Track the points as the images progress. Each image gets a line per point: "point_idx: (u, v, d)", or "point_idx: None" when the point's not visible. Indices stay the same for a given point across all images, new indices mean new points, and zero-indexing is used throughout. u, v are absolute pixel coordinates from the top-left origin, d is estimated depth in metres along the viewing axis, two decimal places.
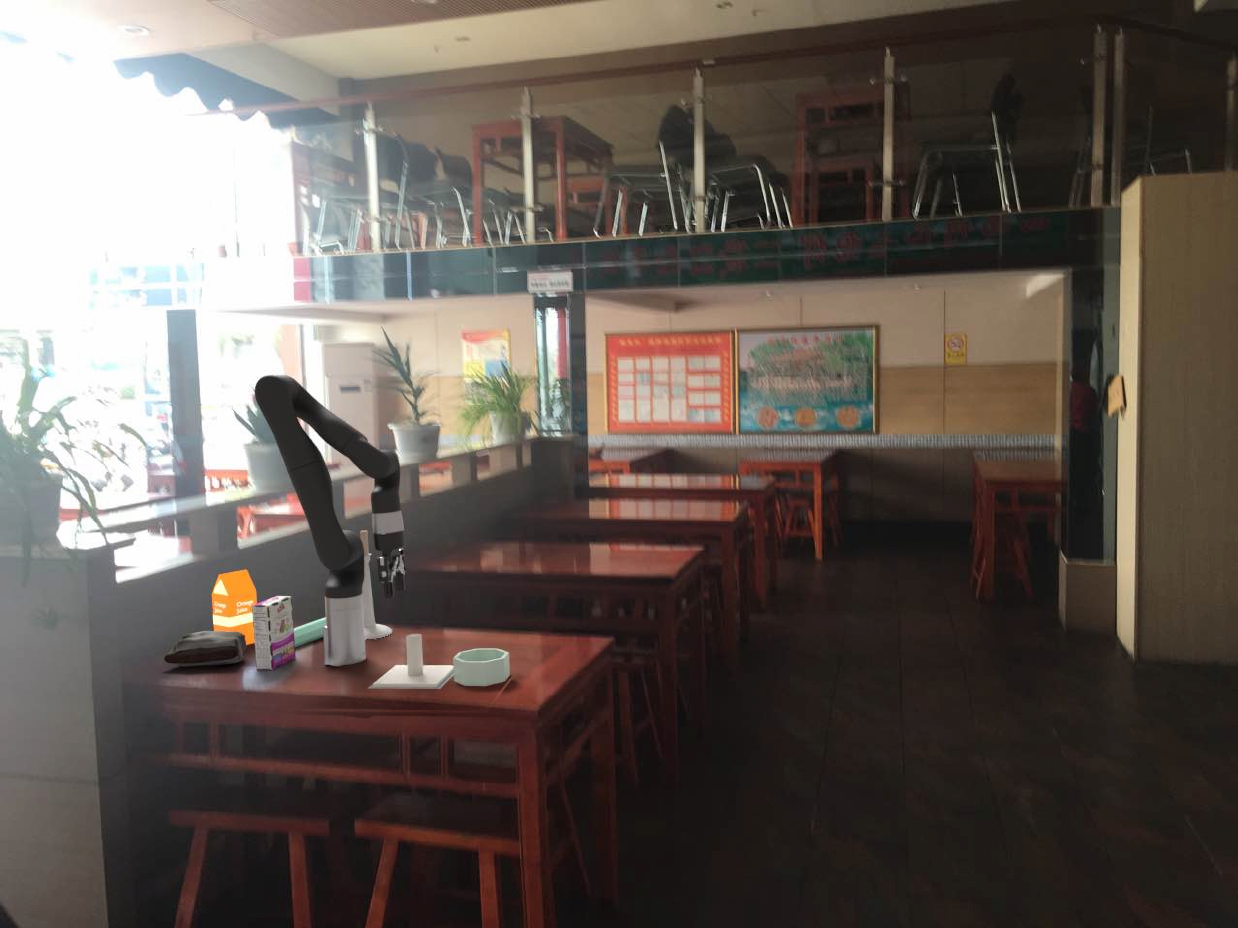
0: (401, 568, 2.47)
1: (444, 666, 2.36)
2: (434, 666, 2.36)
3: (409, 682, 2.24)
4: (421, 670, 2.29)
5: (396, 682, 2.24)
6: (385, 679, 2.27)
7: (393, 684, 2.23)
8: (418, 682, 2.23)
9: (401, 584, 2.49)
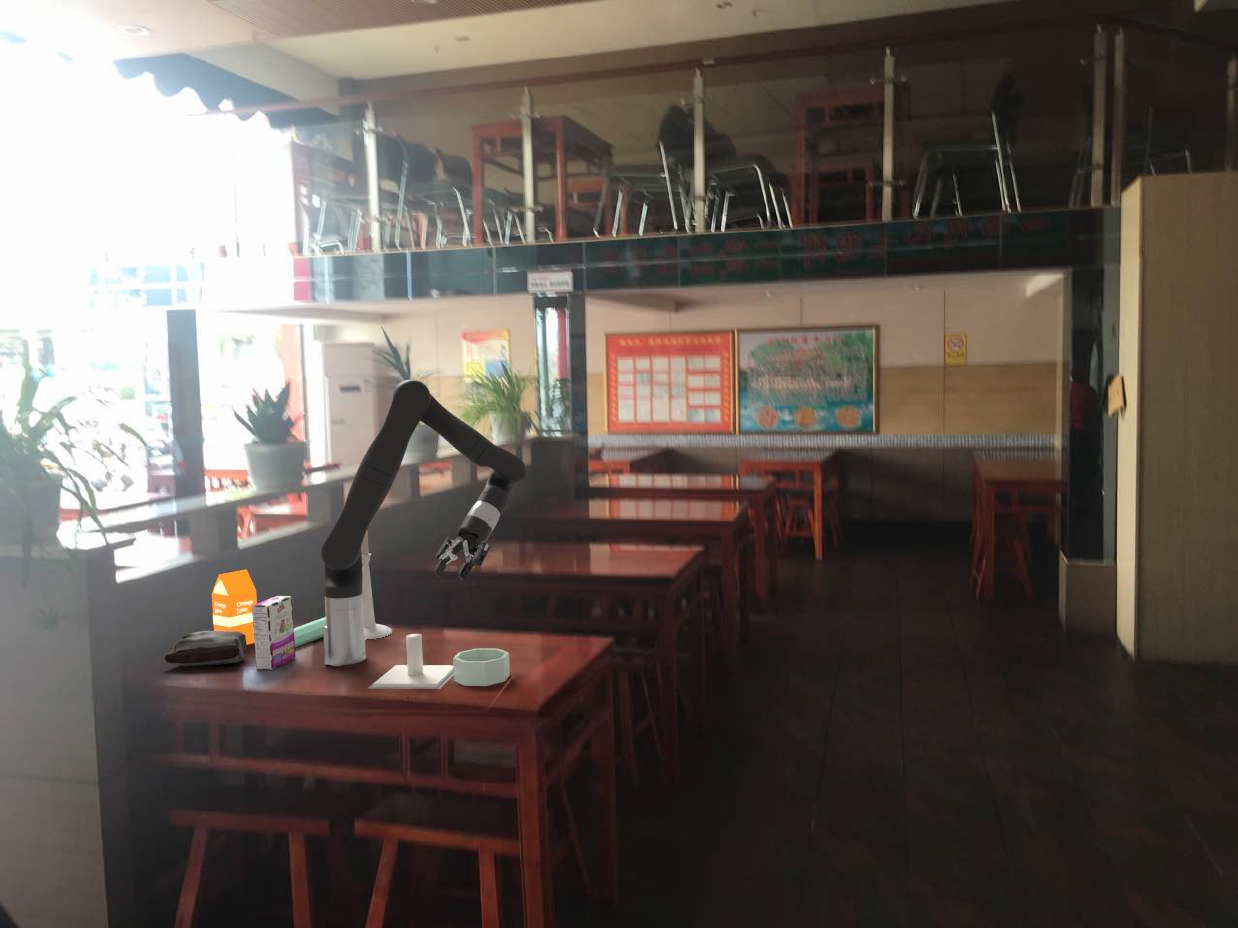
0: (454, 558, 2.43)
1: (444, 666, 2.36)
2: (434, 666, 2.36)
3: (409, 682, 2.24)
4: (421, 670, 2.29)
5: (396, 682, 2.24)
6: (385, 679, 2.27)
7: (393, 684, 2.23)
8: (418, 682, 2.23)
9: (441, 570, 2.41)
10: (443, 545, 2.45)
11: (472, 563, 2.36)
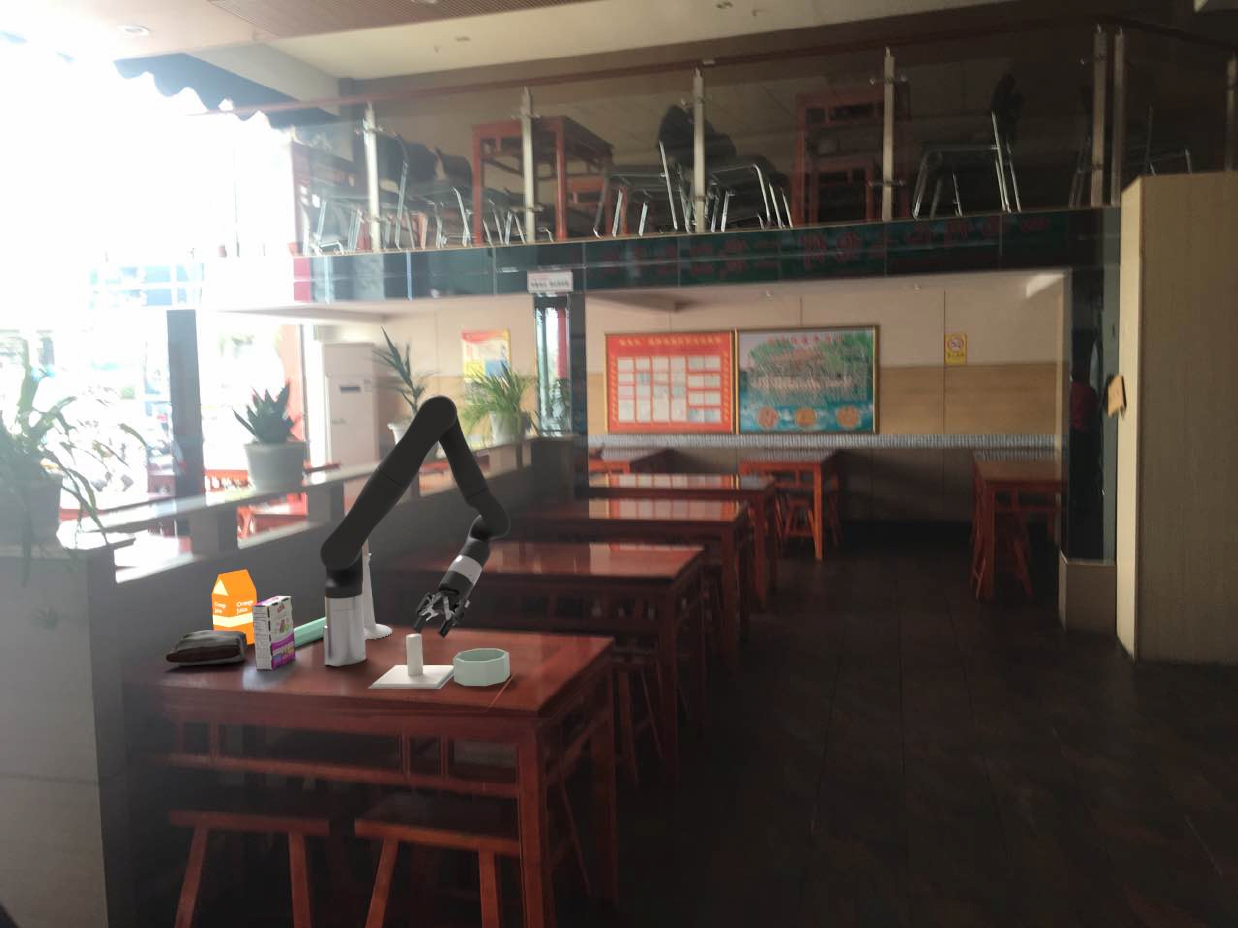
0: (434, 614, 2.39)
1: (444, 666, 2.36)
2: (434, 666, 2.36)
3: (409, 682, 2.24)
4: (421, 670, 2.29)
5: (396, 682, 2.24)
6: (385, 679, 2.27)
7: (393, 684, 2.23)
8: (418, 682, 2.23)
9: (421, 627, 2.36)
10: (423, 600, 2.40)
11: (452, 621, 2.31)
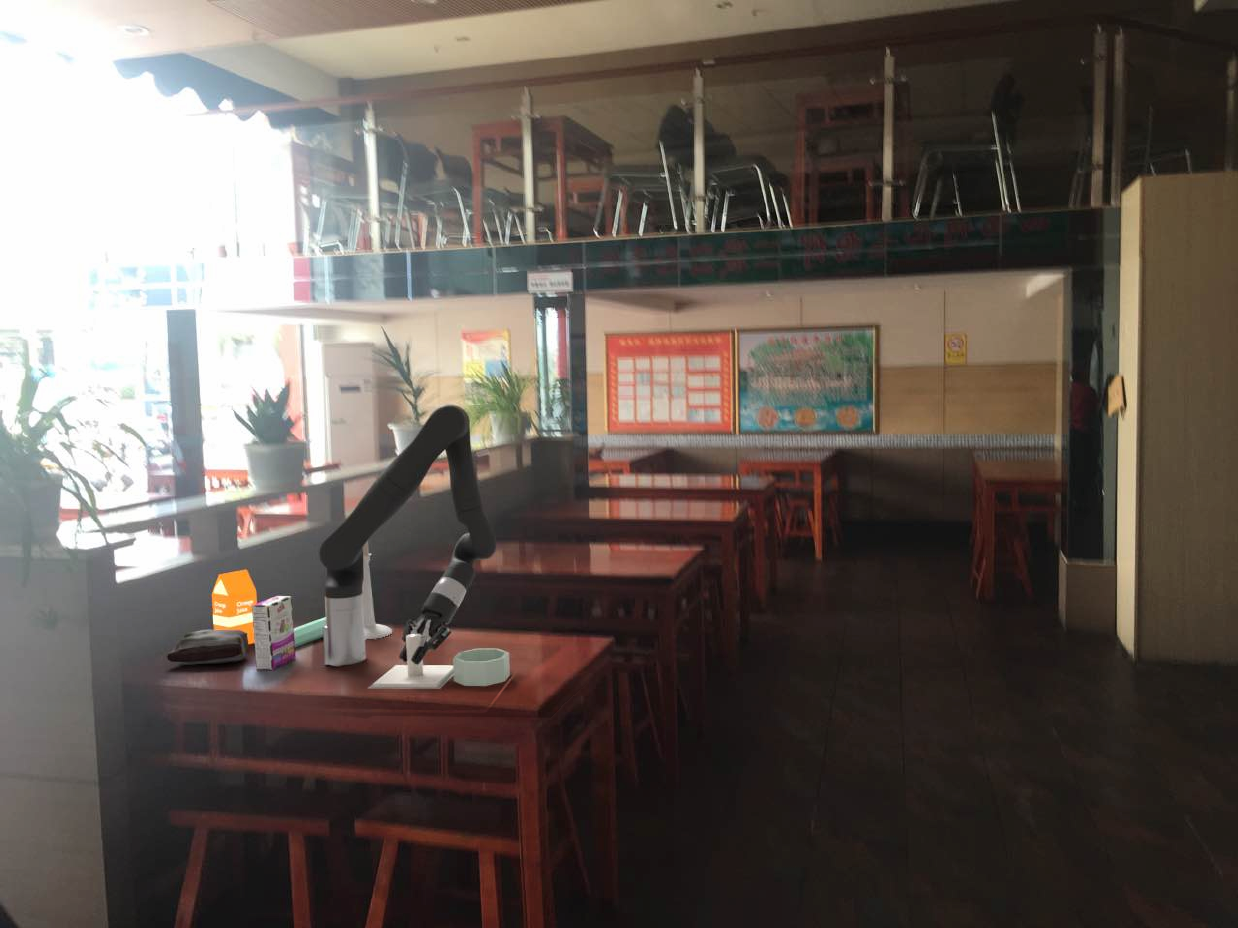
0: None
1: (444, 666, 2.36)
2: (434, 666, 2.36)
3: (409, 682, 2.24)
4: (421, 670, 2.29)
5: (396, 682, 2.24)
6: (385, 679, 2.27)
7: (393, 684, 2.23)
8: (418, 682, 2.23)
9: None
10: (406, 627, 2.35)
11: (426, 647, 2.28)
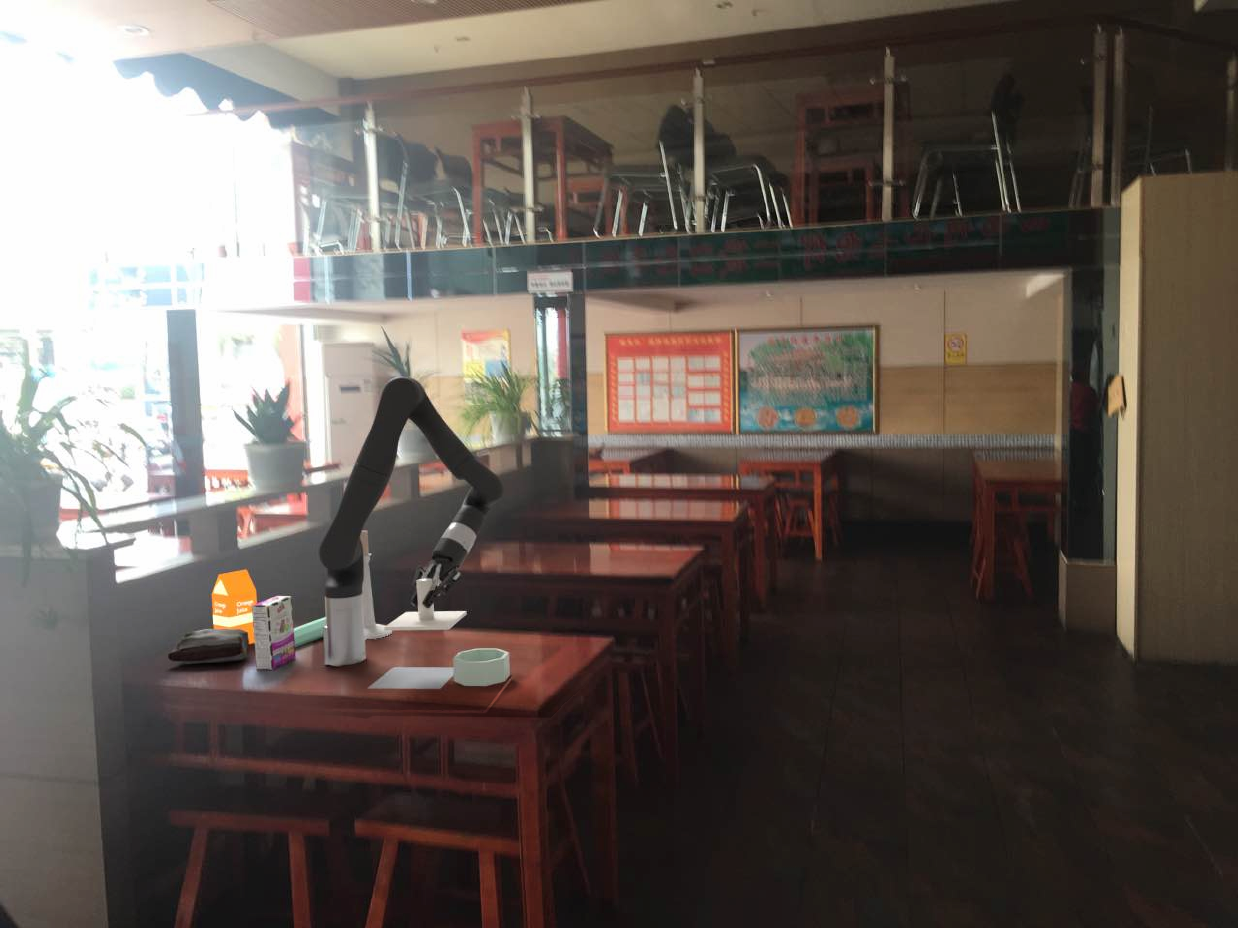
0: None
1: (455, 612, 2.35)
2: (445, 612, 2.35)
3: (420, 625, 2.22)
4: (432, 614, 2.28)
5: (407, 625, 2.23)
6: (396, 623, 2.25)
7: (404, 627, 2.22)
8: (429, 625, 2.22)
9: None
10: (417, 573, 2.33)
11: (437, 591, 2.27)
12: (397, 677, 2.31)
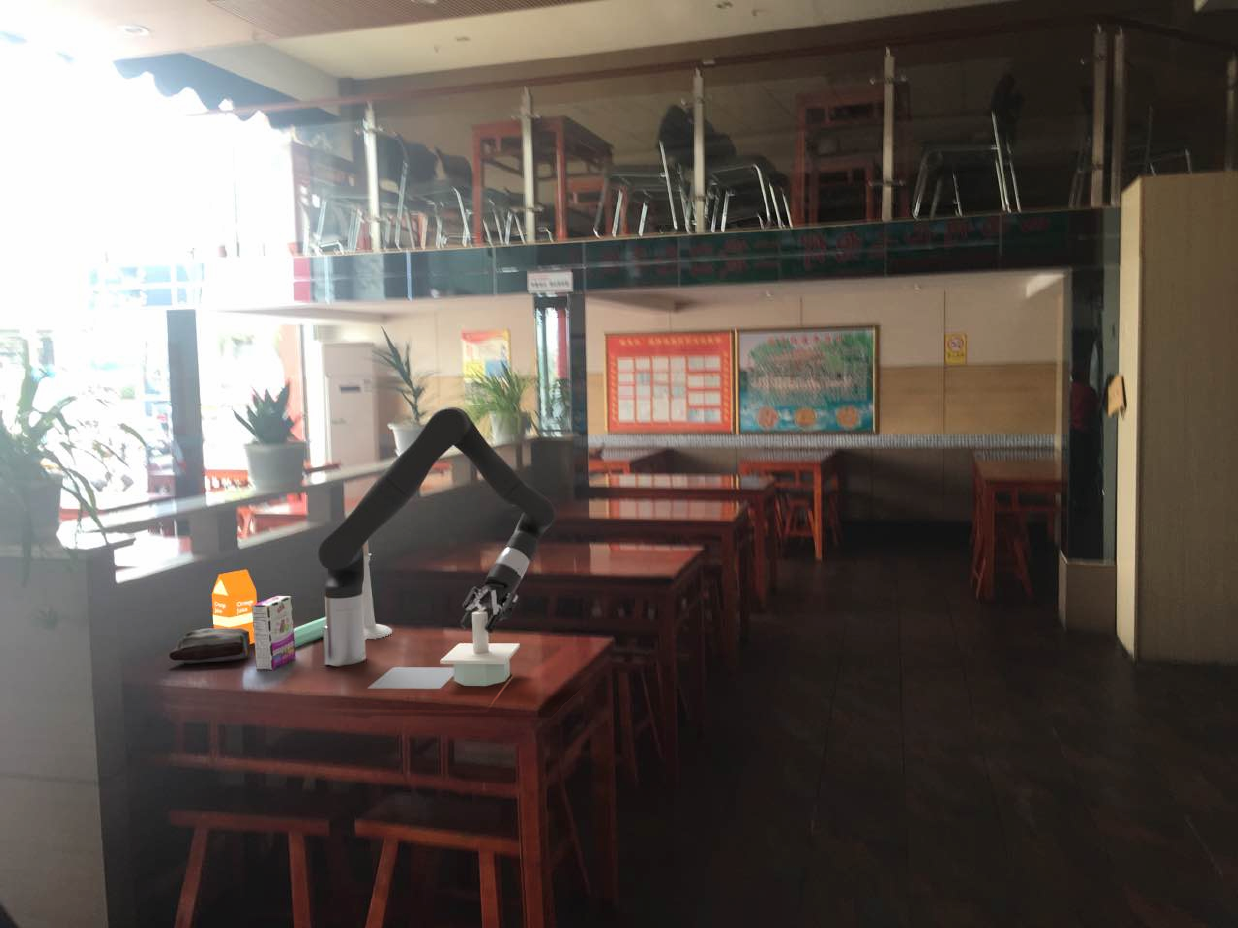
0: (482, 609, 2.32)
1: (508, 644, 2.34)
2: (498, 644, 2.34)
3: (476, 659, 2.21)
4: (487, 647, 2.27)
5: (463, 659, 2.22)
6: (451, 656, 2.24)
7: (460, 661, 2.21)
8: (486, 659, 2.21)
9: (468, 622, 2.29)
10: (470, 595, 2.33)
11: (500, 616, 2.25)
12: (397, 677, 2.31)
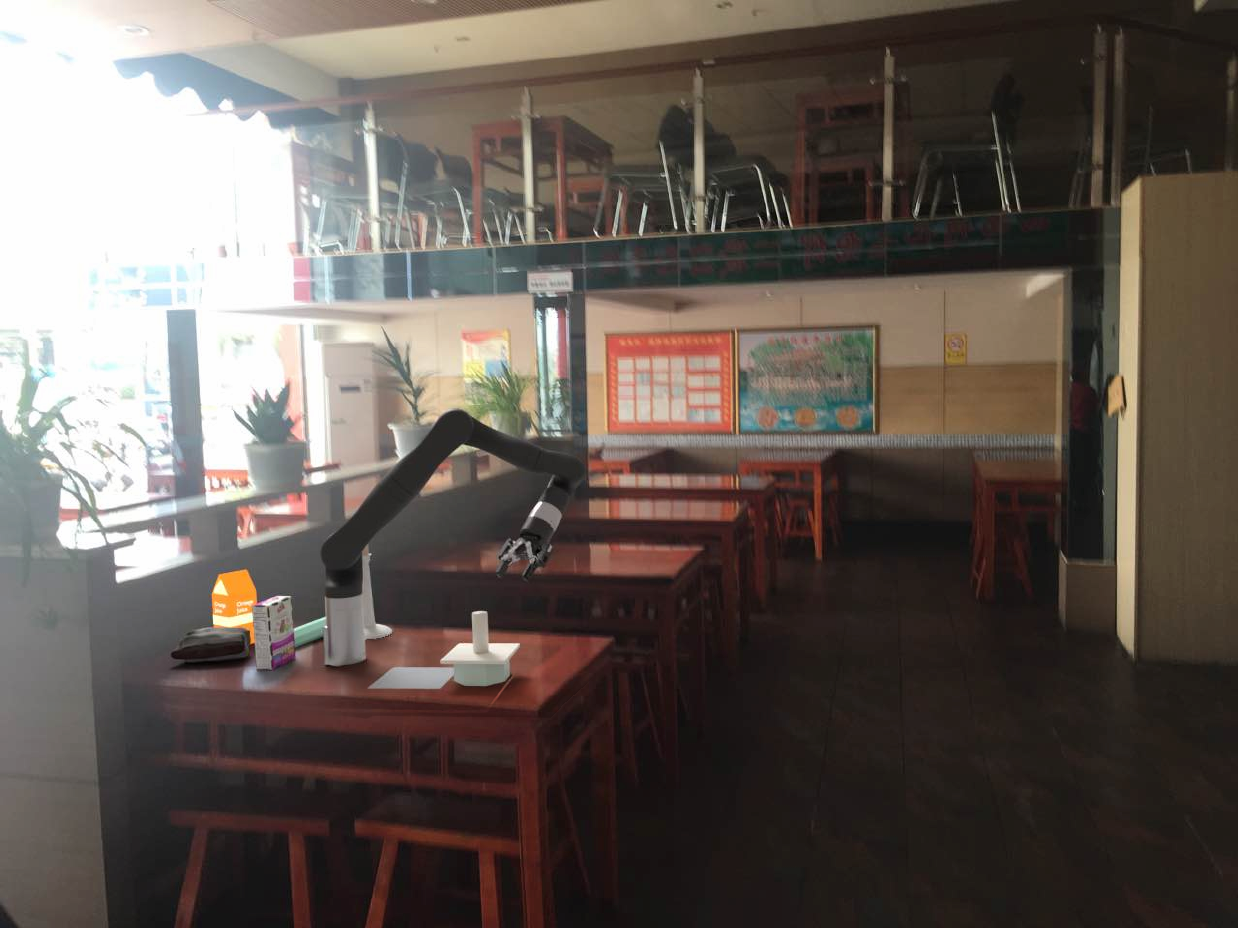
0: (516, 560, 2.41)
1: (508, 644, 2.34)
2: (498, 644, 2.34)
3: (476, 659, 2.21)
4: (487, 647, 2.27)
5: (463, 659, 2.22)
6: (451, 656, 2.24)
7: (460, 661, 2.21)
8: (486, 659, 2.21)
9: (503, 571, 2.39)
10: (504, 546, 2.43)
11: (536, 564, 2.34)
12: (397, 677, 2.31)
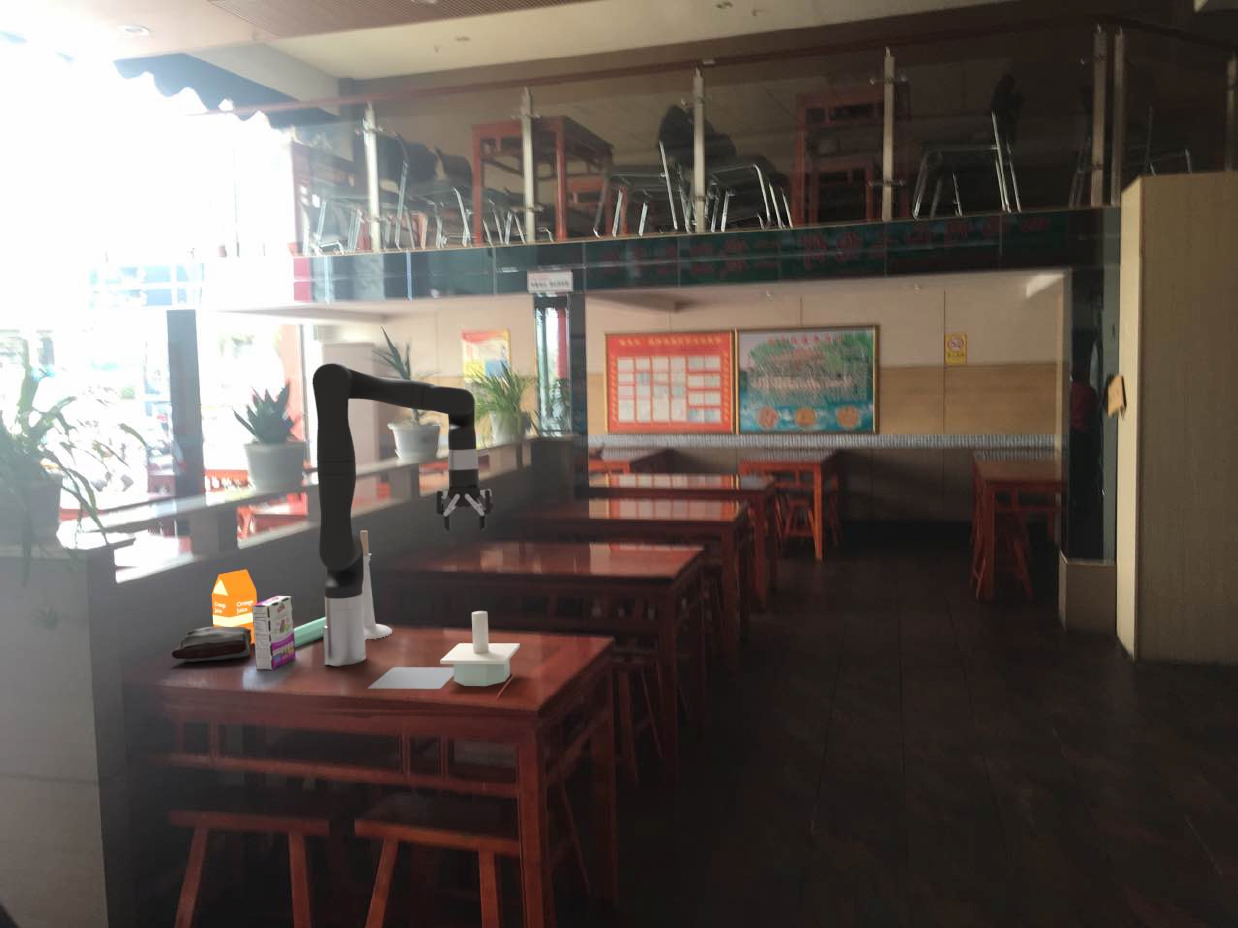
0: None
1: (508, 644, 2.34)
2: (498, 644, 2.34)
3: (476, 659, 2.21)
4: (487, 647, 2.27)
5: (463, 659, 2.22)
6: (451, 656, 2.24)
7: (460, 661, 2.21)
8: (486, 659, 2.21)
9: (451, 524, 2.51)
10: (439, 500, 2.49)
11: None
12: (397, 677, 2.31)
